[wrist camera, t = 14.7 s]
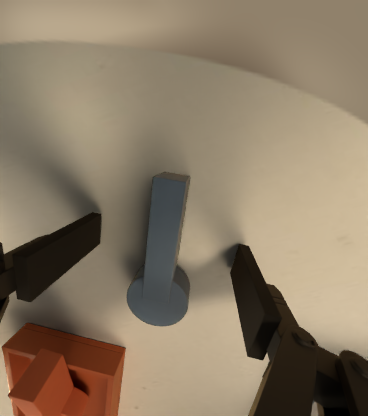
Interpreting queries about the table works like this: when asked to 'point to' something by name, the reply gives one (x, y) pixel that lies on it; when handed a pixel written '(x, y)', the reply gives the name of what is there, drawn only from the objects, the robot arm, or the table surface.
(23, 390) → the terracotta spoon
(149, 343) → the table surface
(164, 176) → the blue spoon
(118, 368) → the terracotta tray
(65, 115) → the table surface
